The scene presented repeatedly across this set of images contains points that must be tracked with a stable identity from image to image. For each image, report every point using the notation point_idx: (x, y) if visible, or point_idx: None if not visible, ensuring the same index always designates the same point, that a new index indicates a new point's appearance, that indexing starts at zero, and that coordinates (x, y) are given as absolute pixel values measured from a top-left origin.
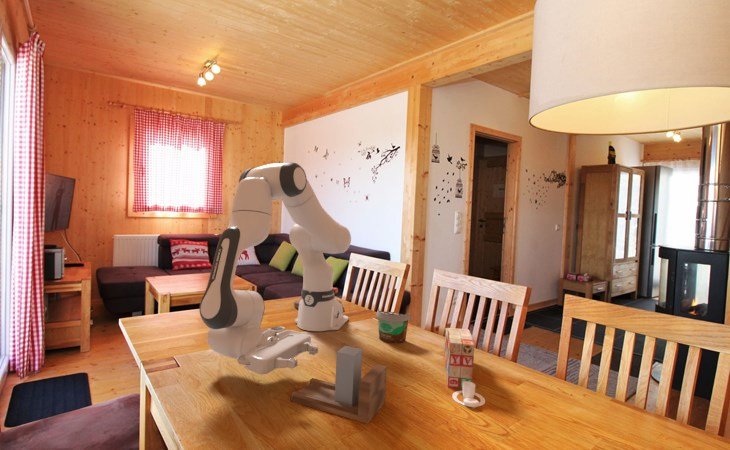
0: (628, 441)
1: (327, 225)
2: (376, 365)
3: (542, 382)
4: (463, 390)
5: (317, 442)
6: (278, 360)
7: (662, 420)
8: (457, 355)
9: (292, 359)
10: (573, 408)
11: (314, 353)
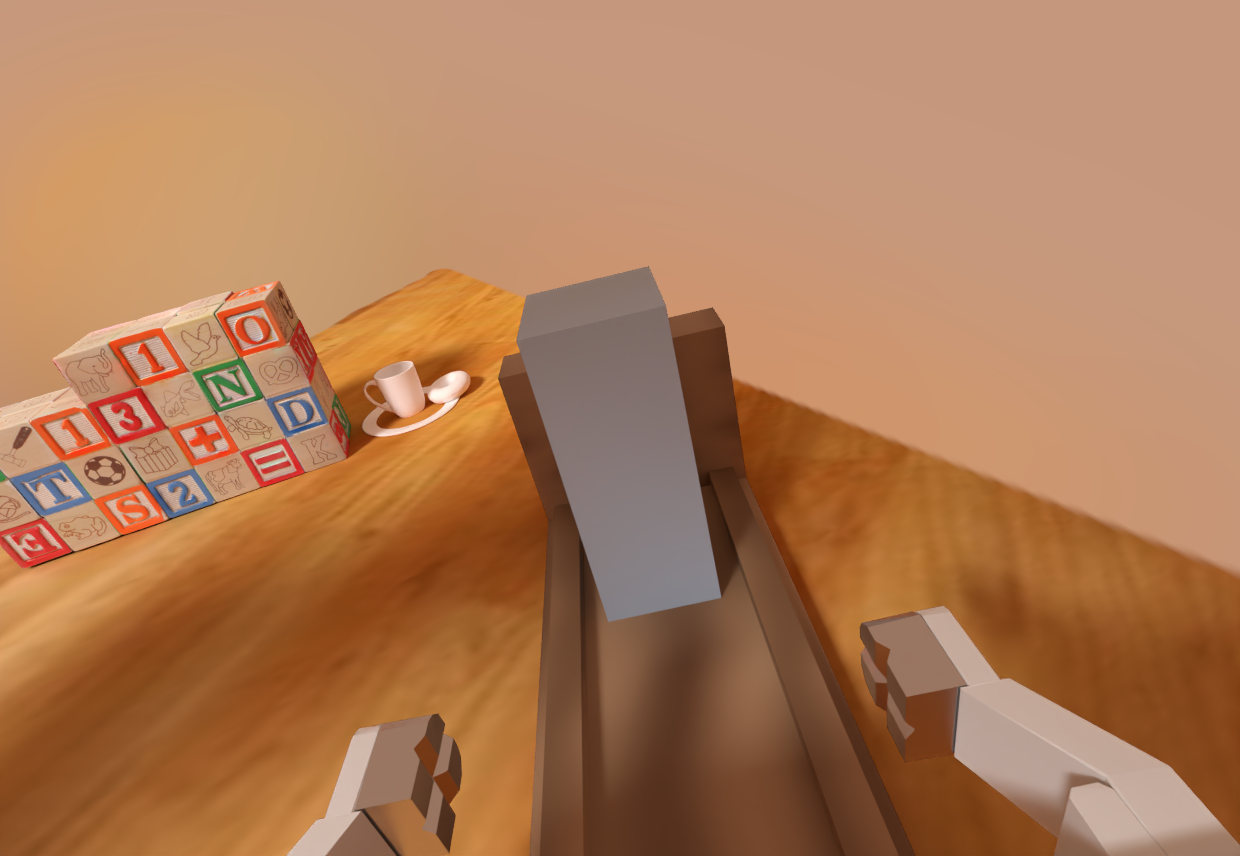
0: (487, 287)
1: None
2: (515, 372)
3: None
4: (410, 389)
5: (1010, 490)
6: (1175, 787)
7: (400, 292)
8: (295, 336)
9: (920, 650)
10: (395, 330)
11: (453, 753)
